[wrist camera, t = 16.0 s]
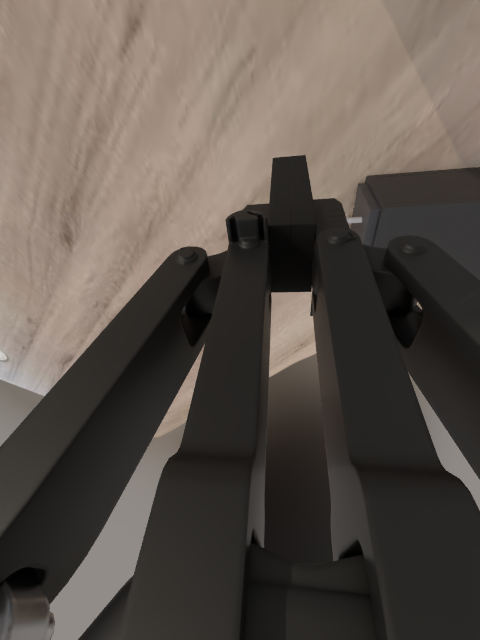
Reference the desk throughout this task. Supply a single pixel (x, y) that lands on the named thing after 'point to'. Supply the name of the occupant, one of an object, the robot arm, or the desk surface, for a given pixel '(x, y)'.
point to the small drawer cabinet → (432, 211)
